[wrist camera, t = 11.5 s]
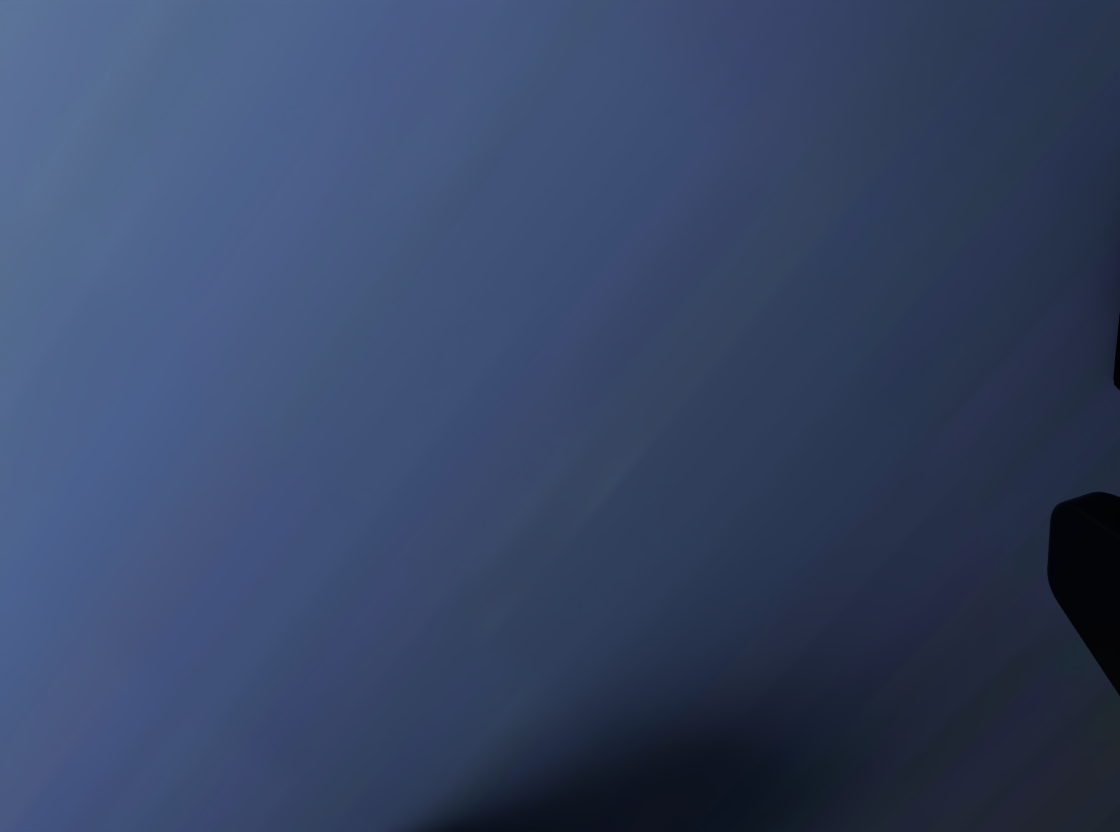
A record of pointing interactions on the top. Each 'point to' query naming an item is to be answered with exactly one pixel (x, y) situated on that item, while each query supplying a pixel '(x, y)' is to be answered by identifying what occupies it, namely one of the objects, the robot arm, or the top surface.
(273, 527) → the top surface
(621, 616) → the top surface
